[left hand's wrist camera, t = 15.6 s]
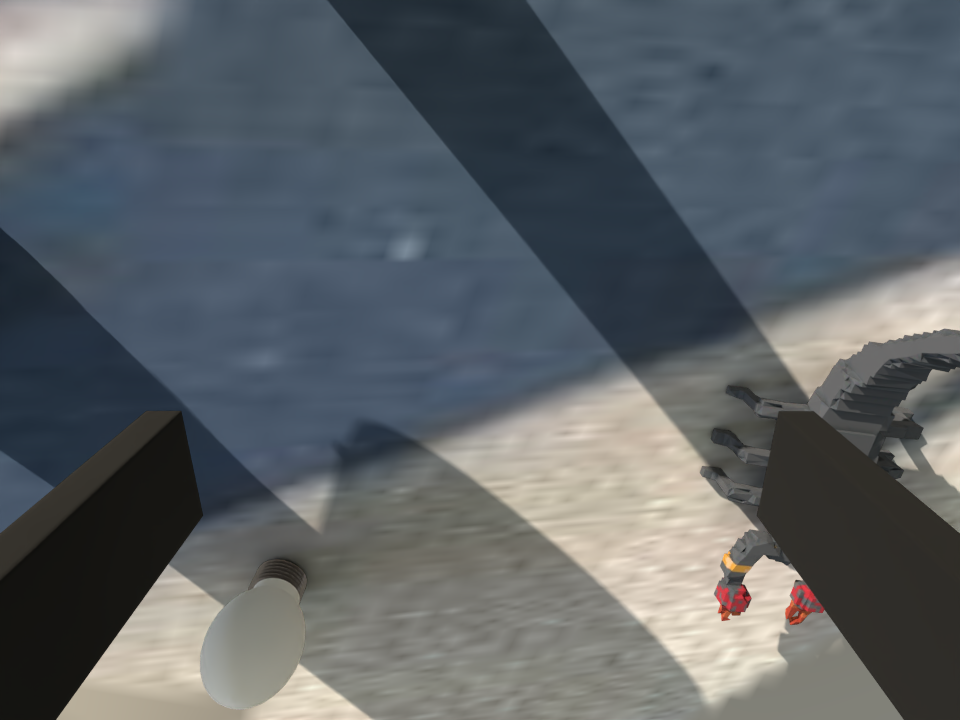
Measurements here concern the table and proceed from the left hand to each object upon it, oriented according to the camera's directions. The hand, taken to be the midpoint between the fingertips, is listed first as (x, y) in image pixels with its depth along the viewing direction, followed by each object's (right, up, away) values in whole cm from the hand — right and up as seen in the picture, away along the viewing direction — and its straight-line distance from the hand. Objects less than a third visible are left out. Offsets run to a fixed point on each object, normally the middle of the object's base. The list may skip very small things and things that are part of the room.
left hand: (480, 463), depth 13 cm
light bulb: (-16, -15, +35) cm, 41 cm away
